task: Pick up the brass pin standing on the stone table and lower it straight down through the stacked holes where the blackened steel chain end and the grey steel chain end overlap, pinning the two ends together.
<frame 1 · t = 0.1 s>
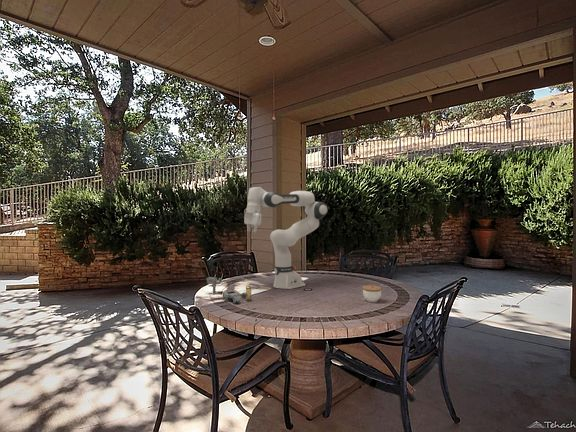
hand: (251, 231, 220), 39 cm above the table, tool pointing down, fingers open, 8 cm apart
chain ends: (231, 299, 201), on the table
mechanical component: (214, 293, 215), on the table
brass pin: (248, 300, 198), on the table
lidded jar: (372, 301, 196), on the table
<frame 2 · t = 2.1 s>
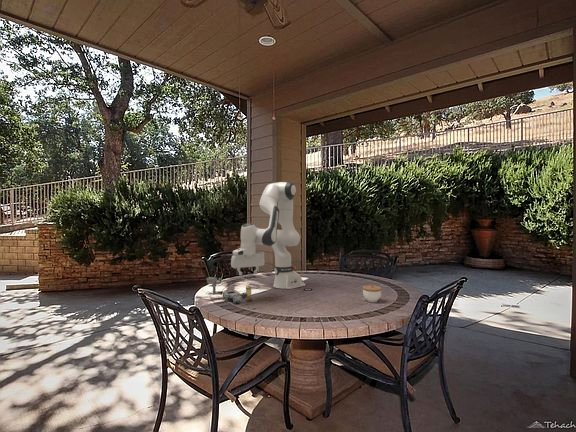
hand: (248, 274, 197), 15 cm above the table, tool pointing down, fingers open, 8 cm apart
nothing on the table moved.
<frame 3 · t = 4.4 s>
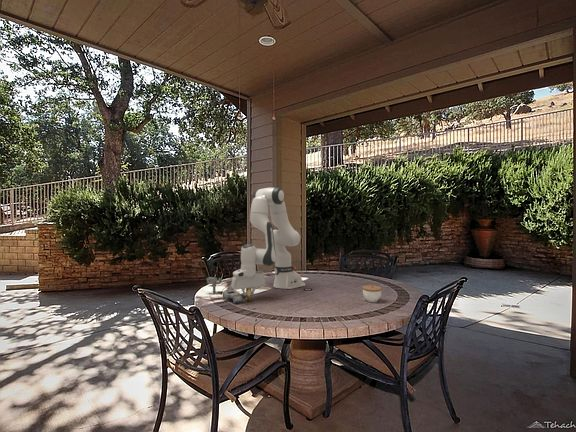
hand: (248, 295, 198), 3 cm above the table, tool pointing down, fingers closed on brass pin, 3 cm apart
brass pin: (248, 300, 198), on the table, touching gripper
everything else where it was.
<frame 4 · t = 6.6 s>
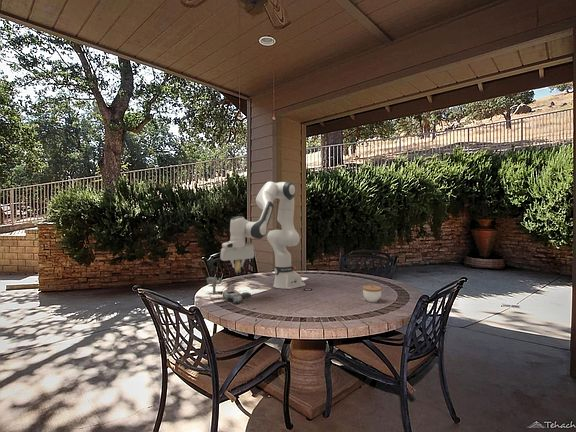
hand: (237, 267, 199), 20 cm above the table, tool pointing down, fingers closed on brass pin, 3 cm apart
brass pin: (237, 272, 199), point 16 cm above the table, touching gripper
everything else where it was.
when the fingers open (6 cm above the table, at t = 9.2 s): brass pin drops 3 cm, resting in chain ends.
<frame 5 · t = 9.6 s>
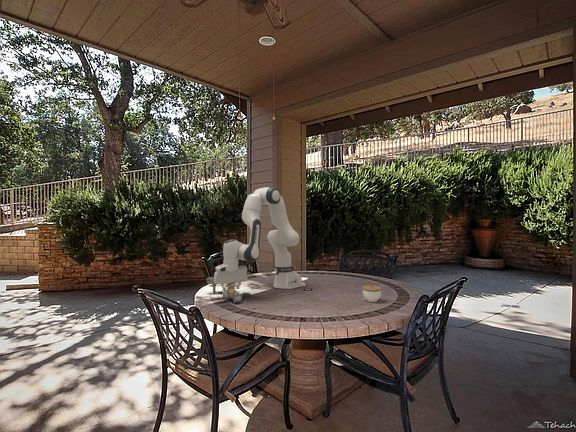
hand: (231, 289, 201), 6 cm above the table, tool pointing down, fingers open, 7 cm apart
brass pin: (231, 299, 201), resting in chain ends
everything else where it was.
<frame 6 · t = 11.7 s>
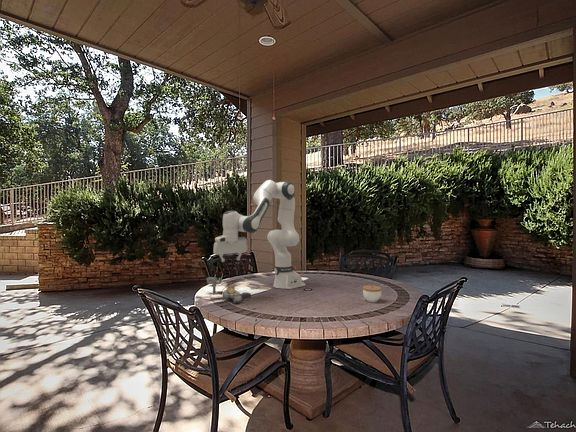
hand: (230, 261, 201), 23 cm above the table, tool pointing down, fingers open, 8 cm apart
nothing on the table moved.
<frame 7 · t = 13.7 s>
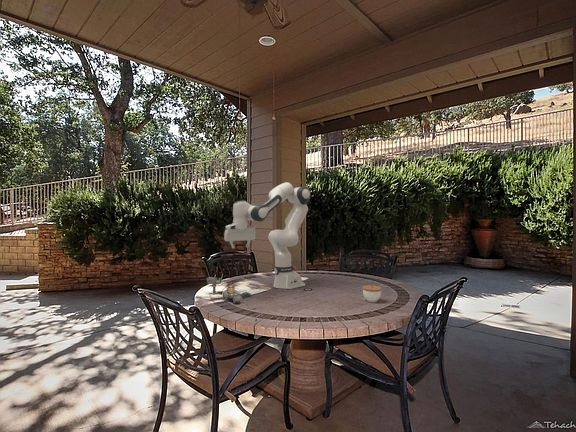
hand: (240, 247, 214), 29 cm above the table, tool pointing down, fingers open, 8 cm apart
nothing on the table moved.
at the end: brass pin 0.1 cm off-centre on the chain ends, point 0.0 cm above the chain ends's base; brass pin tilted 0°; the gripper is holding nothing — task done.
